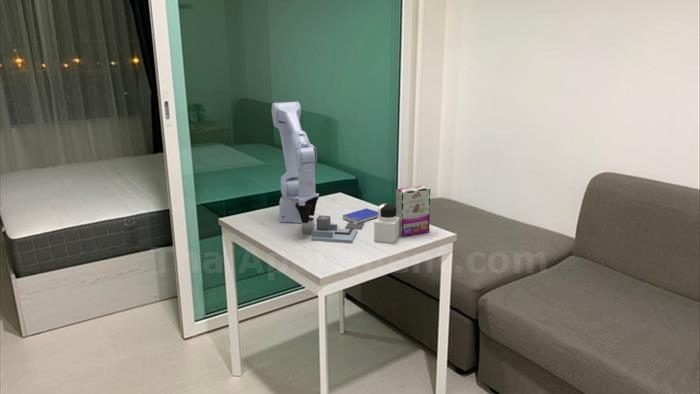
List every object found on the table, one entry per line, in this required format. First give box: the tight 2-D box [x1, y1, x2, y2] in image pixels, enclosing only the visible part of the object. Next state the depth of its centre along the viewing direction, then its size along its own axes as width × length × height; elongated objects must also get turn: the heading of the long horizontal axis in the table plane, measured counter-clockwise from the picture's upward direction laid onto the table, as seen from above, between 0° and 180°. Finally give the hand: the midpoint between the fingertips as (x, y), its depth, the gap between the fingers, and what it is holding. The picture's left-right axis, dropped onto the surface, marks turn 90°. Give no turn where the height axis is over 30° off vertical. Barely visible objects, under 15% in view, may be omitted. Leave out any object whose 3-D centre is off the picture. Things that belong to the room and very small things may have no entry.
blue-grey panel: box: [310, 223, 358, 244], centre depth 184 cm, size 14×12×3 cm
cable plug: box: [301, 216, 316, 236], centre depth 186 cm, size 4×4×6 cm
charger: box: [315, 215, 332, 231], centre depth 183 cm, size 4×4×6 cm
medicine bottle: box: [373, 203, 400, 244], centre depth 179 cm, size 7×7×12 cm
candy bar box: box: [395, 184, 431, 238], centre depth 183 cm, size 11×5×16 cm, turn 114°
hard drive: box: [342, 208, 378, 223], centre depth 201 cm, size 2×8×12 cm
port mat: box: [344, 221, 365, 231], centre depth 193 cm, size 6×6×1 cm
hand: (308, 219), depth 185 cm, fingers open, 7 cm apart
